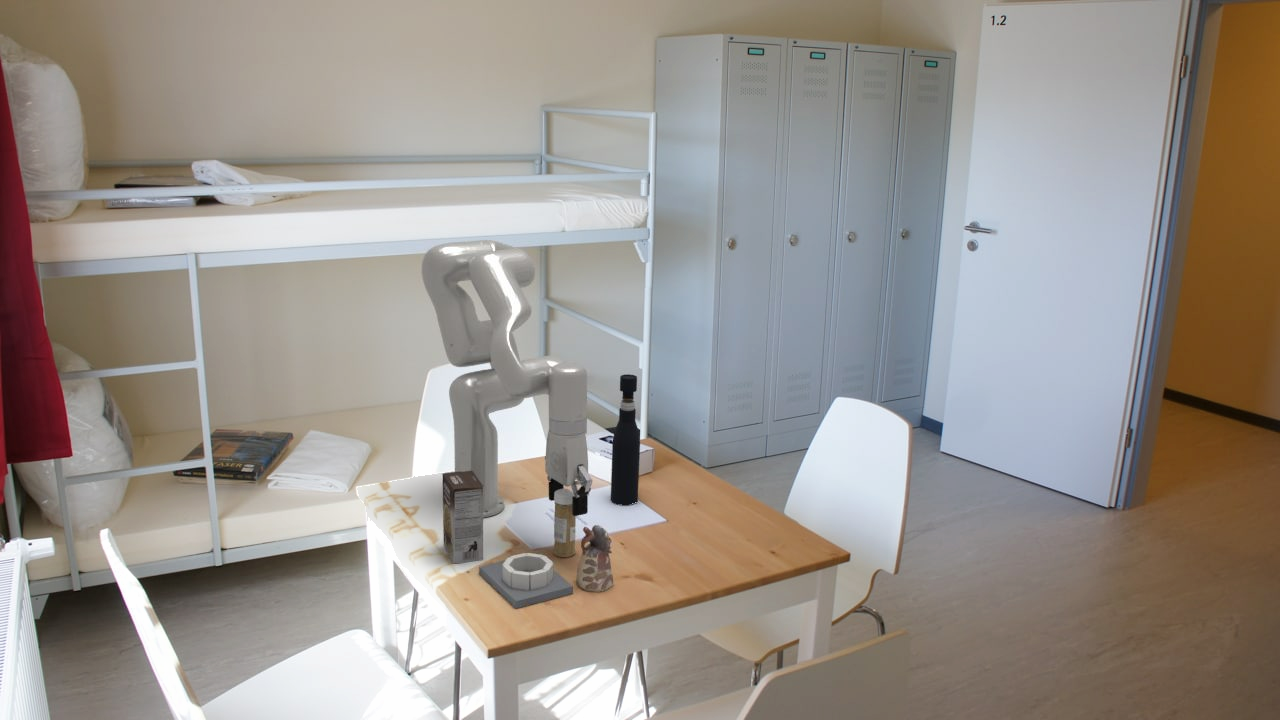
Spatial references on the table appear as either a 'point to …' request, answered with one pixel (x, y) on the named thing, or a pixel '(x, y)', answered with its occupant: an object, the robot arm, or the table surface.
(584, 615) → the table surface
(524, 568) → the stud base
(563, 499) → the sprinkles bottle
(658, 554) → the table surface
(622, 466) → the wine bottle
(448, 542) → the coffee box
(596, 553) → the figurine
